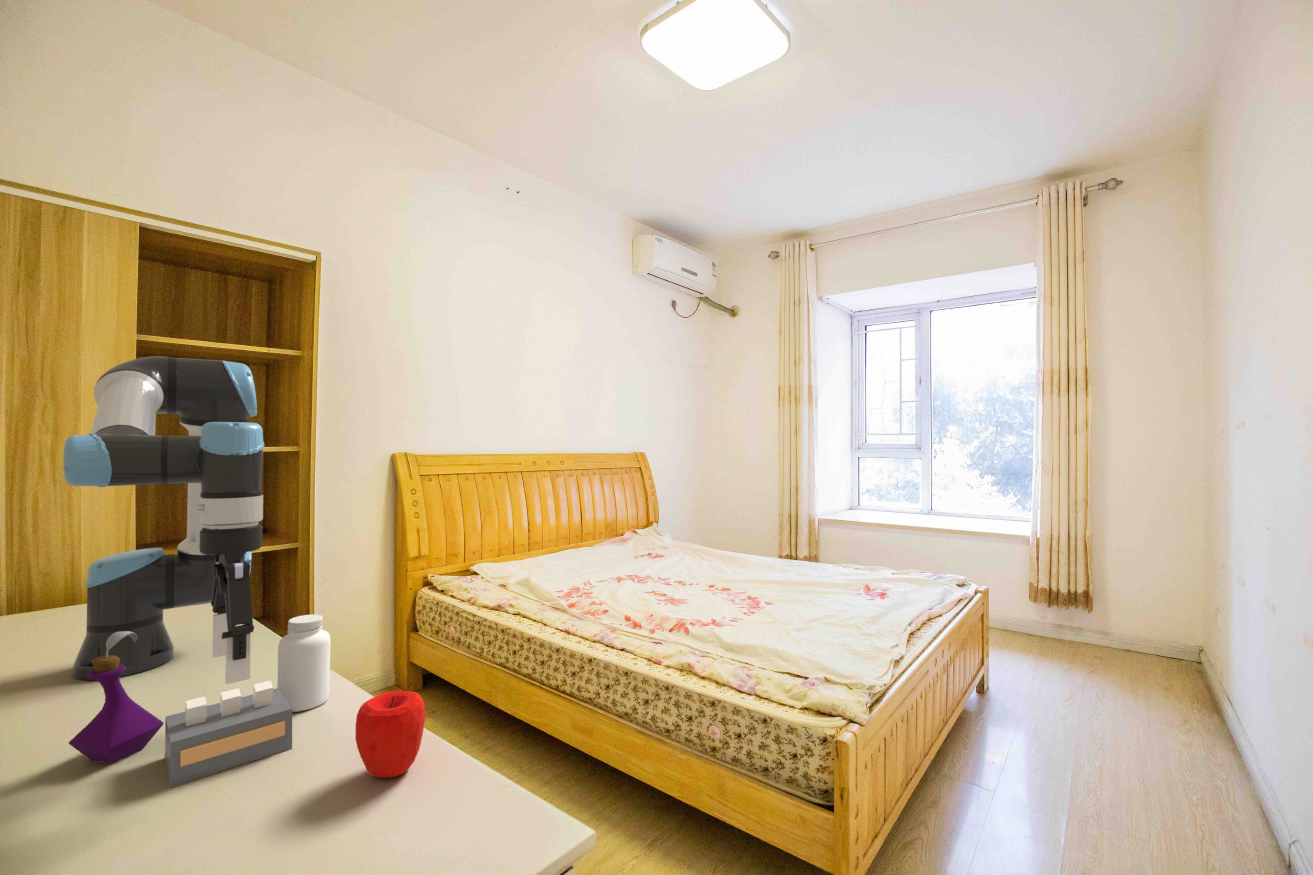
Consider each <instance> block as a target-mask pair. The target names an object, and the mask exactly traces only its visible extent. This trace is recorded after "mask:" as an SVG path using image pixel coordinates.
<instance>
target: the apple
mask: <svg viewBox="0 0 1313 875" xmlns="http://www.w3.org/2000/svg"><path fill="white" fill-rule="evenodd" d="M426 715H427V714H426V706H425V702H424V699H423V698H422V695H420V694H419V693H417V692H416V691H410V690H393V691H392V690H391V691H387V692H384V693H380V694H377V695H376V696H373V697H371V698H370V699H368V700H367V701H365V702H363V704H362V705H361V706H360V707H359V709H358V711H357V714H356V719H355V742H356V747H357V750H358V753H359V756H360V758H361V760H362V763H363V765H364V766H365V769H366V771H367V772H368V773H369V774H370V776H373V777H375V778H381V779H382V778H383V779H385V778H395V777H398V776H401V775H403V774H404V773H406V772H407V771H408V770H409V769H410V768H411V766H412V765H413V764H414V762H415V760H416V758H417V755H418V753H419V750H420V747H421V744H422V738H423V735H424V728H425V723H426V722H425V721H426Z"/></svg>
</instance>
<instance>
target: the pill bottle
mask: <svg viewBox="0 0 1313 875" xmlns="http://www.w3.org/2000/svg"><path fill="white" fill-rule="evenodd" d="M323 624H324V617H323V615H320V614H304V615H298V616H294V617H292V618H290V619H289V620H288V621H287V632H286V633H287V634H286V635H284V636H283V637H282V638H281V639H280V641H279V643H278V646H277V684H276V686H277V687H276V688H279V690H280V691H281V693H282V694H283V696H284V697H285V698H286V700H287V701H288V703H289V704H290V706H291V707H292V713H296V712H301V711H302V712H303V711H308V710H311V709H314V708H317V707H319V706H321V705H323V704H325V703H326V702H327V701H328V700H329V698H330V692H331V691H330V690H331V689H330V687H331V685H330V684H331V635H330V633H329V632H328V631H327V630H324V629H323Z"/></svg>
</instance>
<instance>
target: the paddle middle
mask: <svg viewBox="0 0 1313 875" xmlns="http://www.w3.org/2000/svg"><path fill="white" fill-rule="evenodd" d="M241 697H242V694H241V690H240V687H238V688H234V689H230V690H226V691H221V692H220V697H219V698H220V699H219V701H220V702H219V703H220V712H221V716H222V717H224V716H228V715H232V714H236V713H239V712H240V707H241Z"/></svg>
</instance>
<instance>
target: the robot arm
mask: <svg viewBox="0 0 1313 875" xmlns="http://www.w3.org/2000/svg"><path fill="white" fill-rule="evenodd" d="M253 377H254V376H253V372H252V371H251V368H250V367H249V366H248V365H246V364H245V363H241V362H235V361H227V360H219V359H218V360H217V359H201V358H186V357H174V356H173V357H172V356H163V355H157V356H155V355H154V356H145V357H138V358H136V359H131V360H128V361H125V362H123V363H119V364H118V365H115V366H113V367H111V368H110V369H108V370H107V371H105V372H104V373H103V374H102V375H101V376H100V377H99V378H98V380H97V381H96V382H95V386H94V390H93V399H94V401H95V403H96V405H97V408H96V411H95V416H94V420H93V423H92V427H91V431H90V433H88V434H74V435H70V436H68V437H67V438H66V439H65V441H64V448H63V458H62V459H63V461H62V462H63V476H64V480H65V481H66V484H68V485H69V486H73V487H97V488H106V487H117V486H119V487H121V486H124V487H125V486H141V485H142V486H143V485H144V486H146V485H164V484H165V485H172V484H174V485H175V484H177V485H178V484H187V510H186V511H187V513H186V514H187V516H186V518H187V520H186V538H185V539H183V540H182V541H181V542H180V543H178V545H177V553H167V554H166V552H165V549H164V548H162V547H151V548H141V549H136V550H130V551H126V552H121V553H117V554H116V553H115V554H113V555H108V556H105V557H102V558H99V559H97V560H95V561H94V562H92V563H91V564H90V566H89V567H88V571H87V579H86V580H87V581H86V584H85V588H86V589H87V592H86V593H87V594H86V629H85V630H86V631H85V632H86V633H85V637H84V640H83V641H82V644H81V647H80V648H79V651H78V653H77V655H76V658H75V661H74V662H73V666H72V670H73V672H72V674H73V675H72V677H73V678H74V679H77V680H83V681H94V680H95V681H97V680H96V679H89V678H88V676H87V675H88V673H89V672H90V671H91V670H94V666H93V663H92V660H93V659H95V658H96V657H99V656H105V655H106V651H107V648H106V642H107V640H108V638H109V637H110V636H111V635H112V634H113V633H115V632H122V631H130V632H134V633H135V634H136V635H137V640H136V642H135V643H134V642H133V640H132V638H131V637H130V636H128V635H127V636H125V637H124V638H122V639H121V640H120V641H119V642H117V643H116V644H115V645H114V646H113V647H112V648H111V649H109V651H108V655H114V656H117V657H119V658H120V662H119V664H123V665H124V666H126V670H125V671H124V672H123V673H121V675H120V678H121V677H125V676H129V675H134V674H138V673H142V672H146V671H149V670H151V669H155V668H157V667H160V666H162V665H164V664H166V663H168V662H170V661H171V660H173V658H174V652H175V651H174V644H173V641H172V640H171V637H170V634H169V632H168V630H167V628H166V626H165V622H164V610H169V609H175V608H183V607H190V606H197V605H198V606H199V605H207V604H210V605H211V607H212V612H213V614H212V657H213V659H214V658H218V657H222V656H223V657H224V656H225V676H224V677H225V679H224V680H225V681H224V682H225V685H226V686H227V685H230V684H234V683H238V682H243V681H247V680H251V633H253V632H254V631H255V630H254V629H255V626H254V621H253V608H252V607H253V606H252V604H253V603H252V593H251V580H250V579H251V578H250V577H251V576H250V575H251V569H252V559H253V558H252V557H253V556H252V555H253V554H252V552H254V551H258V550H259V549H261V548H262V546H263V526H261V524H260V523H259V522H261V521H263V519H264V494H263V469H264V468H263V466H264V464H263V462H264V460H263V459H264V448H265V442H264V435H263V434H264V433H263V432H264V430H263V428H262V425H260V424H259V423H257V422H249V417H250V418H252V417H256V416H257V414H258V409H257V408H258V404H257V392H256V388H255V387H256V386H255V381H254V378H253ZM157 414H160V415H161V414H162V415H163V414H167V415H179V424H180V425H182V426H183V427H184V428H185V429H186V430H188V435H159V434H158V435H157V434H156V417H157V416H156V415H157Z"/></svg>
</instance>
